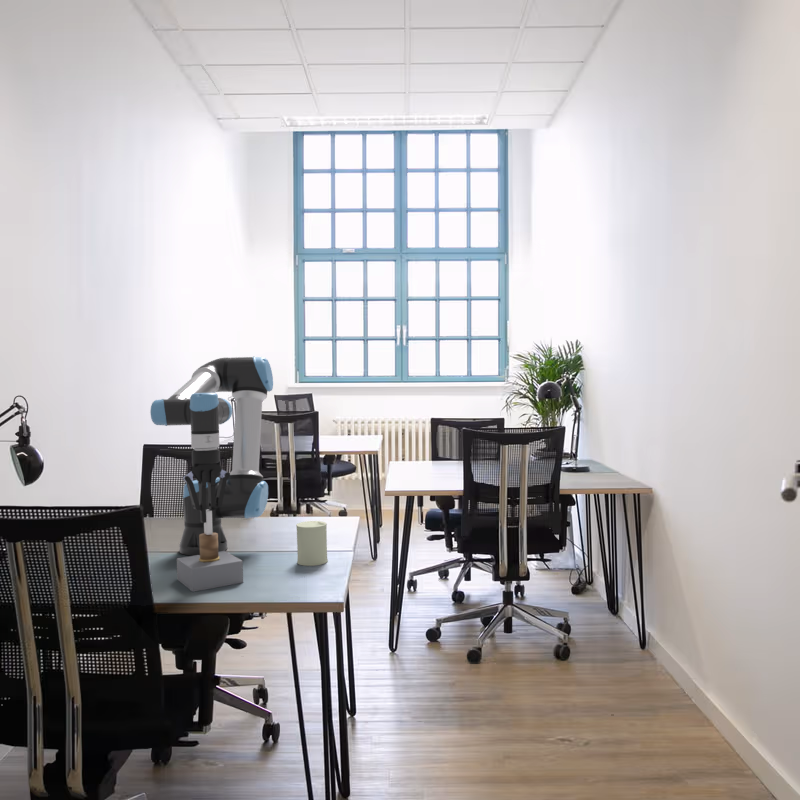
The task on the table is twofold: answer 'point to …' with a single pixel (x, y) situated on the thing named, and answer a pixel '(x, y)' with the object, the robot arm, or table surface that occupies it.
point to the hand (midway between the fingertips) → (208, 533)
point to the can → (312, 543)
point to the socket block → (209, 571)
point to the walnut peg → (208, 547)
